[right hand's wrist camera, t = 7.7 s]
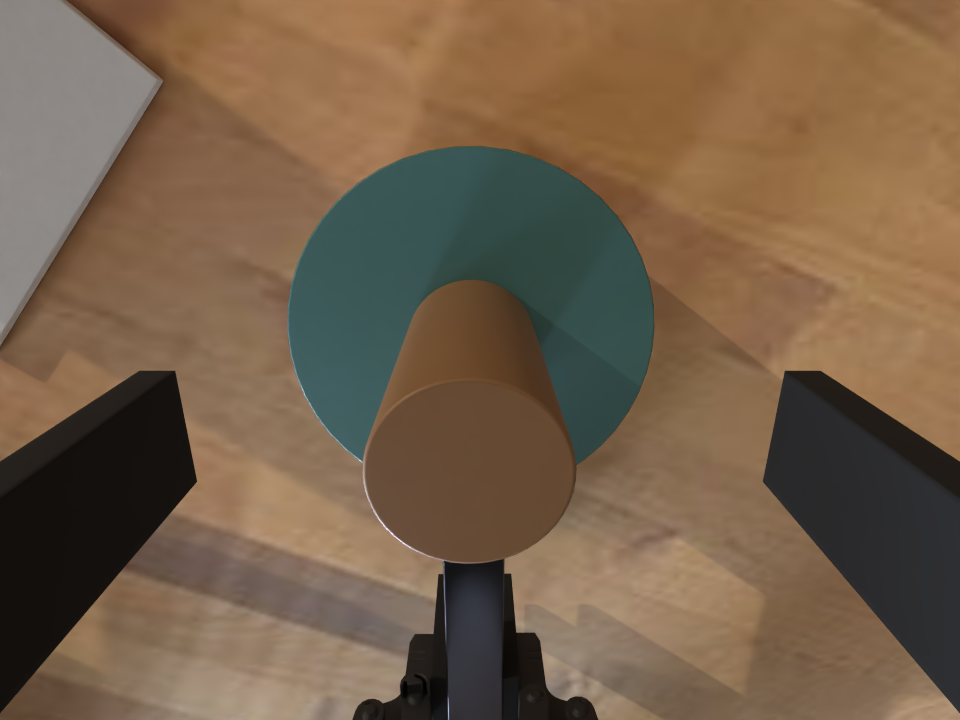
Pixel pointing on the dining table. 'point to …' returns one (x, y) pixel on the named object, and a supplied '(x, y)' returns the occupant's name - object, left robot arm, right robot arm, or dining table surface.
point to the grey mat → (56, 132)
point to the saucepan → (474, 639)
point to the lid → (470, 342)
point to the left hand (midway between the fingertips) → (475, 594)
